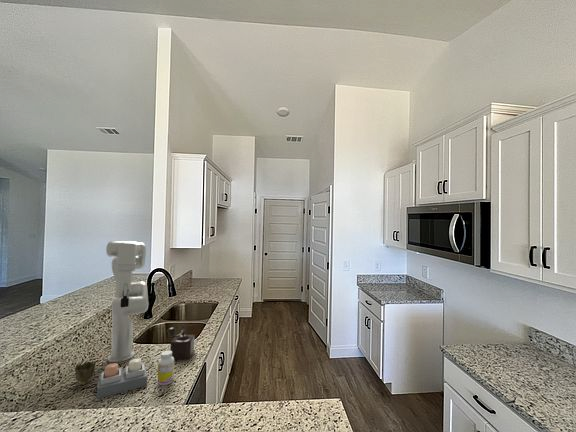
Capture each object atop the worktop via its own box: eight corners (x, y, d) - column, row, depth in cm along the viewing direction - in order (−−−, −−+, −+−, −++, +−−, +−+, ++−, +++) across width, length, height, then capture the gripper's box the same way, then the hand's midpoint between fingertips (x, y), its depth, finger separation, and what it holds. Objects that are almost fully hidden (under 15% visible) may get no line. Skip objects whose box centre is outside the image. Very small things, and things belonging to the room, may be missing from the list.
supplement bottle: (162, 377, 125) (163, 349, 125) (176, 377, 124) (177, 349, 125) (154, 385, 118) (155, 355, 119) (169, 386, 118) (170, 356, 118)
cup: (92, 377, 124) (92, 359, 125) (97, 383, 120) (98, 364, 120) (71, 384, 119) (72, 365, 119) (76, 390, 114) (77, 371, 114)
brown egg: (104, 376, 117) (105, 365, 117) (117, 373, 120) (118, 362, 120) (104, 382, 113) (104, 369, 113) (117, 378, 115) (118, 366, 116)
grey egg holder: (99, 384, 119) (99, 370, 119) (144, 373, 128) (145, 360, 129) (96, 398, 109) (97, 383, 109) (146, 385, 118) (147, 371, 118)
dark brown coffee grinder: (174, 351, 151) (175, 319, 152) (194, 351, 152) (195, 318, 154) (164, 365, 136) (165, 329, 137) (187, 364, 137) (188, 328, 138)
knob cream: (128, 371, 122) (129, 360, 122) (140, 368, 124) (141, 357, 125) (128, 376, 118) (129, 364, 118) (141, 373, 120) (141, 361, 121)
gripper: (117, 266, 133) (115, 304, 132) (116, 270, 120) (114, 311, 119) (134, 265, 137) (133, 302, 136) (135, 269, 124) (134, 309, 123)
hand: (124, 306), depth 128 cm, fingers closed
